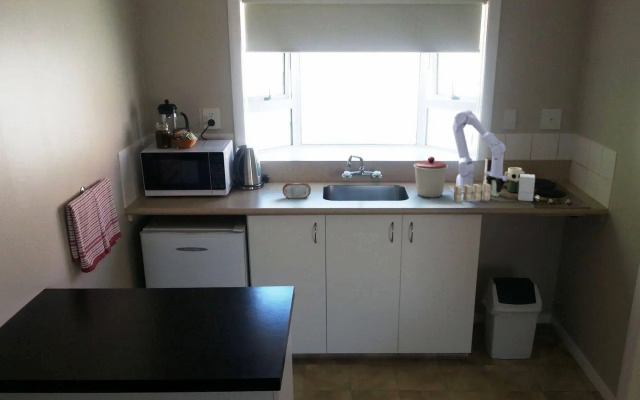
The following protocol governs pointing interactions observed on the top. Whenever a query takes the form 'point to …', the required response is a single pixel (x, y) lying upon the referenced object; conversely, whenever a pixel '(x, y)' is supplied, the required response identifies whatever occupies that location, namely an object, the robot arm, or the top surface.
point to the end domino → (494, 189)
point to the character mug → (514, 178)
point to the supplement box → (526, 187)
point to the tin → (296, 190)
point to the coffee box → (488, 168)
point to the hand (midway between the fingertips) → (495, 191)
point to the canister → (430, 177)
